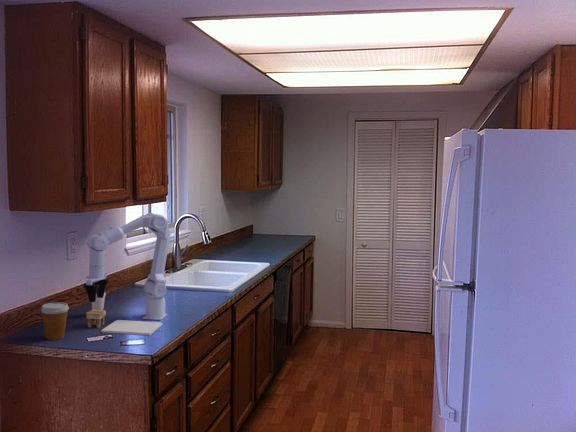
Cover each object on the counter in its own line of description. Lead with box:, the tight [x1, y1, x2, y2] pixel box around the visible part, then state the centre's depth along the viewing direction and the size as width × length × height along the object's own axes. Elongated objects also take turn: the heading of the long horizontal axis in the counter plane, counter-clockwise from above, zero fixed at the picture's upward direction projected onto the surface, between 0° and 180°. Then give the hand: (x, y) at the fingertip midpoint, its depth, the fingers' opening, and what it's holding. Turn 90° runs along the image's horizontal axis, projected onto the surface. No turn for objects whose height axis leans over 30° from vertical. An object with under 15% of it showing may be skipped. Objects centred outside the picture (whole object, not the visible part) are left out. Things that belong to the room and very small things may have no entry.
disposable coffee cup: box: [40, 302, 70, 341], centre depth 204 cm, size 10×10×12 cm
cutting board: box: [101, 319, 163, 336], centre depth 219 cm, size 15×19×1 cm
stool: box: [86, 309, 107, 329], centre depth 220 cm, size 5×5×6 cm
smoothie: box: [91, 292, 107, 310], centre depth 236 cm, size 6×6×14 cm
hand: (96, 299), depth 219 cm, fingers open, 7 cm apart
